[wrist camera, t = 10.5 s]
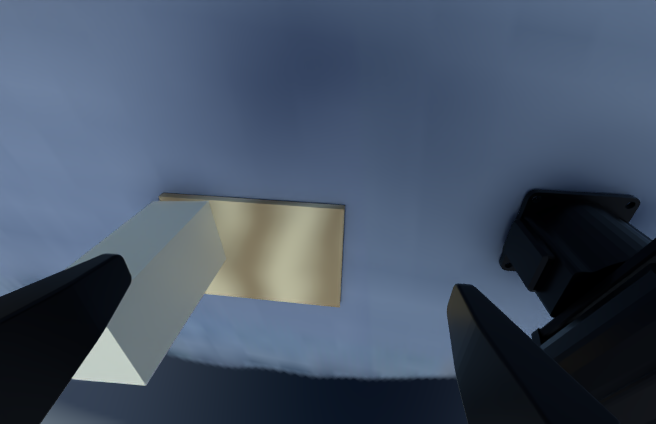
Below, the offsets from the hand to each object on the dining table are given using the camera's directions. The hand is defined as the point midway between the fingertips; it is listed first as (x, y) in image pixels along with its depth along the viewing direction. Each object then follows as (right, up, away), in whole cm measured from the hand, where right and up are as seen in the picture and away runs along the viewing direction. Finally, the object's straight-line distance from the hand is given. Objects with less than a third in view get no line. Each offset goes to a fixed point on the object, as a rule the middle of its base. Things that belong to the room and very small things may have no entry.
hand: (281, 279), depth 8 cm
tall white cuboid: (-10, 0, +16) cm, 18 cm away
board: (-5, -2, +17) cm, 17 cm away
